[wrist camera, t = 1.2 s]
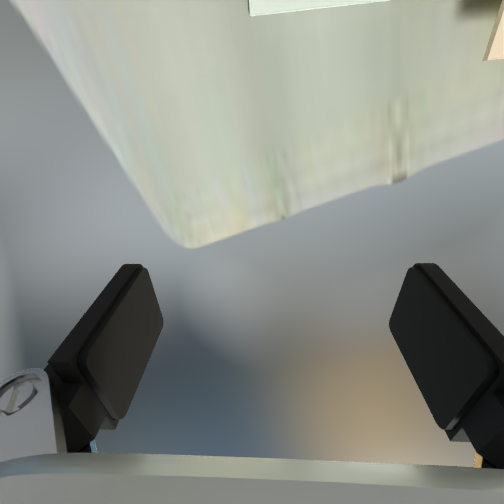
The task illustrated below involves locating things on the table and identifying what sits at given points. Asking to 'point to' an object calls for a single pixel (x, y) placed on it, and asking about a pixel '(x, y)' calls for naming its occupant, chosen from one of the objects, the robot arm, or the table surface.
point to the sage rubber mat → (297, 5)
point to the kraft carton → (496, 38)
